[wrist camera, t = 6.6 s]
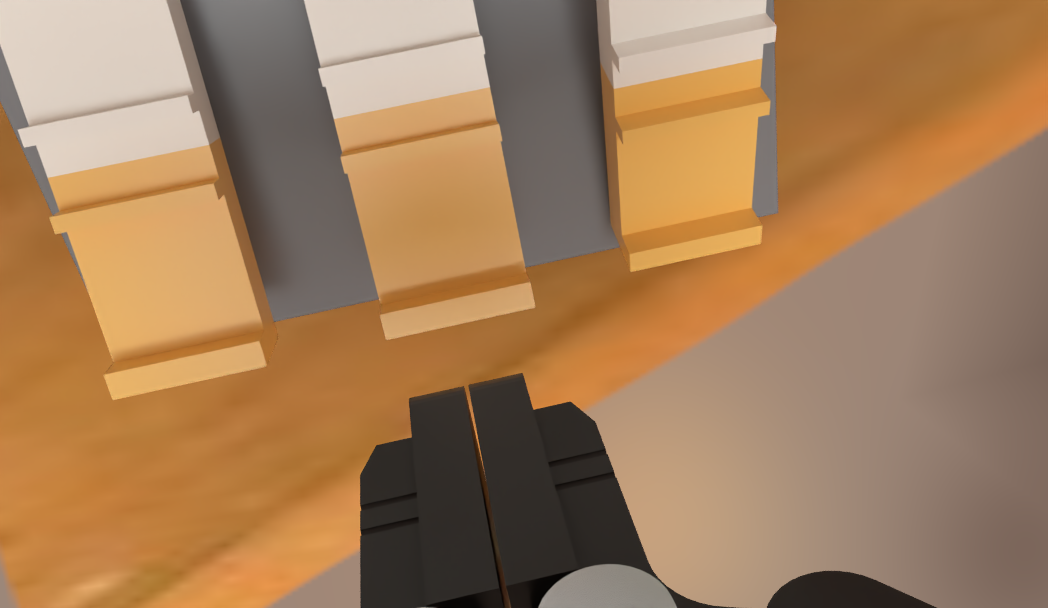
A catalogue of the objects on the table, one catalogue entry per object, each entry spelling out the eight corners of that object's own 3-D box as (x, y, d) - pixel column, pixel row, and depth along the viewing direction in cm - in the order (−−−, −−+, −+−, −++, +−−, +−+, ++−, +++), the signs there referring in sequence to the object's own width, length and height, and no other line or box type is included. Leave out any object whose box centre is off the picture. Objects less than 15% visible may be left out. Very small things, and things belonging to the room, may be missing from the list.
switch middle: (280, -119, 16) (266, -133, 14) (439, -149, 16) (443, -166, 15) (387, 313, 19) (386, 340, 17) (524, 283, 19) (535, 307, 17)
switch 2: (585, -162, 15) (611, -127, 14) (755, -195, 15) (794, -163, 14) (610, 224, 20) (630, 272, 19) (734, 198, 21) (760, 243, 19)
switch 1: (-14, -63, 16) (-58, -71, 14) (152, -95, 16) (125, -106, 14) (137, 367, 18) (112, 399, 17) (278, 337, 18) (267, 366, 17)
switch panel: (-34, -184, 18) (-142, -174, 14) (690, -317, 19) (778, -340, 15) (153, 268, 24) (112, 368, 20) (716, 149, 24) (787, 222, 20)
